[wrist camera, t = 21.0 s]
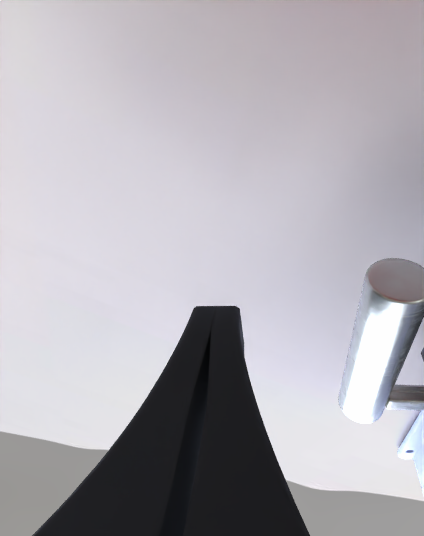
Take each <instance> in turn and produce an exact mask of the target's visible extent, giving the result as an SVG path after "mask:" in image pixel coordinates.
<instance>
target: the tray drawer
mask: <svg viewBox="0 0 424 536" xmlns="http://www.w3.org/2000/svg"><path fill="white" fill-rule="evenodd" d="M423 317H424V268H423V267H422V266H420V265H418V264H416V263H414V262H411V261H408V260H404V259H397V258H389V259H383V260H380V261H377V262H375V263H374V264H372V265H371V266H370V267H369V268H368V270H367V272H366V275H365V279H364V284H363V288H362V293H361V297H360V302H359V306H358V311H357V316H356V320H355V325H354V329H353V334H352V338H351V343H350V347H349V352H348V356H347V361H346V365H345V370H344V374H343V379H342V383H341V388H340V392H339V398H338V400H339V405H340V407H341V409H342V411H343V412H344V413H345V415H346V416H348V417H349V418H350V419H352V420H354V421H356V422H359V423H372V422H374V421H376V420H378V419H379V418H380V417H381V415H382V413H383V410H384V408H385V406H386V408H387V409H399V410H424V385H395V382H396V380H397V378H398V375H399V373H400V371H401V368H402V366H403V364H404V361H405V359H406V357H407V354H408V352H409V350H410V347H411V345H412V343H413V340H414V338H415V336H416V333H417V331H418V329H419V326H420V324H421V322H422V319H423ZM421 355H422V358H423V360H424V348H423V350H422V352H421Z"/></svg>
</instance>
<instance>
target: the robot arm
mask: <svg viewBox="0 0 424 536" xmlns="http://www.w3.org/2000/svg"><path fill="white" fill-rule="evenodd" d="M398 456H399V457H400V458H403V459H414V463H415V466H416V470H417V473H418V477H419V480H420V484H421V488H422V491H423V495H424V410H422V411H421V412H420V414H419V416H418V417H417V419H416V421H415V422H414V424H413V426H412V427H411V429H410V431H409V433H408V434H407V436H406V438H405V439H404V441H403V443H402V444H401V446H400V448H399V449H398ZM32 536H310V535H309V532H308V530H307V528H306V526H305V524H304V521H303V519H302V517H301V515H300V513H299V510H298V508H297V506H296V504H295V502H294V499H293V497H292V494H291V492H290V490H289V487H288V485H287V482H286V480H285V478H284V475H283V473H282V471H281V468H280V466H279V463H278V461H277V458H276V456H275V453H274V451H273V448H272V445H271V443H270V440H269V437H268V435H267V432H266V429H265V426H264V424H263V421H262V418H261V415H260V412H259V409H258V406H257V403H256V399H255V396H254V393H253V389H252V386H251V382H250V379H249V375H248V371H247V367H246V362H245V358H244V339H243V332H242V324H241V316H240V309H239V308H238V307H236V306H196V307H195V308H194V309H193V312H192V314H191V317H190V319H189V321H188V324H187V326H186V328H185V330H184V332H183V334H182V336H181V338H180V340H179V342H178V344H177V346H176V348H175V350H174V352H173V354H172V356H171V357H170V359H169V361H168V363H167V365H166V367H165V369H164V370H163V372H162V374H161V375H160V377H159V379H158V380H157V382H156V384H155V385H154V387H153V388H152V390H151V392H150V393H149V395H148V397H147V398H146V400H145V401H144V403H143V404H142V406H141V407H140V409H139V410H138V412H137V413H136V415H135V416H134V417H133V419H132V420H131V422H130V423H129V424H128V426H127V427H126V429H125V430H124V431H123V433H122V434H121V435H120V436H119V438H118V439H117V440H116V442H115V443H114V444H113V446H112V447H111V448H110V450H109V451H108V452H107V453H106V455H105V456H104V457H103V458H102V460H101V461H100V462H99V463H98V465H97V466H96V467H95V468H94V469H93V470H92V471H91V473H90V474H89V475H88V476H87V477H86V478H85V479H84V481H83V482H82V483H81V484H80V485H79V486H78V487H77V489H76V490H75V491H74V492H73V493H72V495H71V496H70V497H69V498H68V499H67V500H66V501H65V502H64V503H63V504H62V505H61V506H60V508H59V509H58V510H57V511H56V512H55V513H54V514H53V515H52V516H51V517H50V518H49V519H48V520H47V521H46V522H45V523H44V524H43V525H42V526H41V527H40V528H39V529H38V530H37V531H36V532H35V534H33V535H32Z"/></svg>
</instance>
